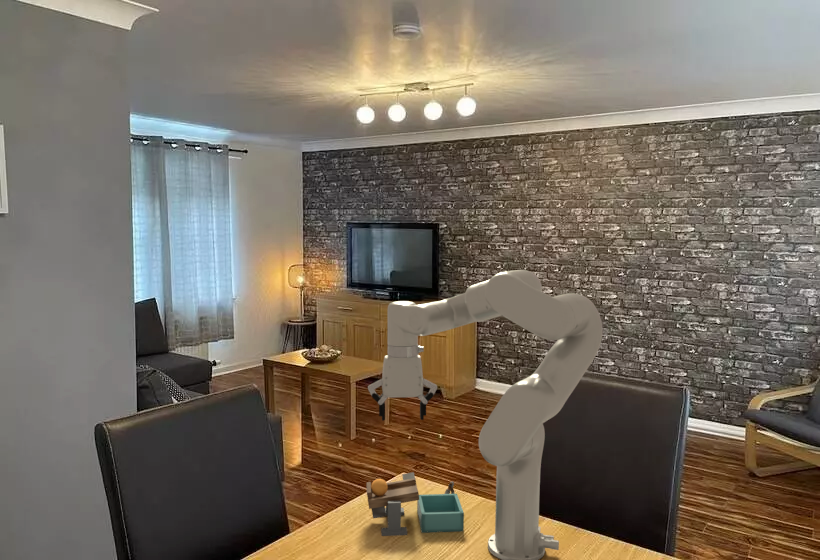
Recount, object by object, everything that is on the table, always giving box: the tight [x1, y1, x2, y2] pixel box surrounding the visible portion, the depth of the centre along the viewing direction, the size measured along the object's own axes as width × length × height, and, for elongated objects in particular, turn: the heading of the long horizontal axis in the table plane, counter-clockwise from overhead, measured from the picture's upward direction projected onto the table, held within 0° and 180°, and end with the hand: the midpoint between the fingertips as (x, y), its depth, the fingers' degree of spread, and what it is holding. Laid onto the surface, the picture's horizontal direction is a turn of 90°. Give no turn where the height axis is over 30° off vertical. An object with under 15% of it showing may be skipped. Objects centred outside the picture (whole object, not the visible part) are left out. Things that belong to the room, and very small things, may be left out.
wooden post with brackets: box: [443, 480, 456, 494], centre depth 163 cm, size 2×8×4 cm, turn 152°
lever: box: [366, 471, 420, 519], centre depth 154 cm, size 12×14×6 cm
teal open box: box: [416, 493, 465, 534], centre depth 152 cm, size 10×11×4 cm
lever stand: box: [380, 501, 408, 537], centre depth 151 cm, size 6×12×8 cm, turn 5°
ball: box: [371, 478, 388, 496], centre depth 150 cm, size 4×4×4 cm
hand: (402, 418), depth 156 cm, fingers open, 9 cm apart
